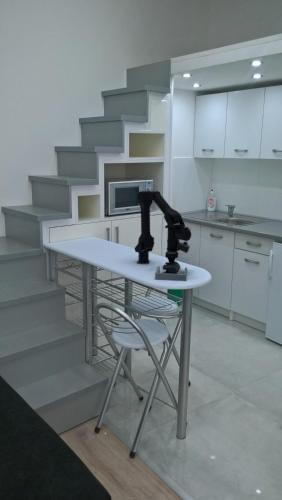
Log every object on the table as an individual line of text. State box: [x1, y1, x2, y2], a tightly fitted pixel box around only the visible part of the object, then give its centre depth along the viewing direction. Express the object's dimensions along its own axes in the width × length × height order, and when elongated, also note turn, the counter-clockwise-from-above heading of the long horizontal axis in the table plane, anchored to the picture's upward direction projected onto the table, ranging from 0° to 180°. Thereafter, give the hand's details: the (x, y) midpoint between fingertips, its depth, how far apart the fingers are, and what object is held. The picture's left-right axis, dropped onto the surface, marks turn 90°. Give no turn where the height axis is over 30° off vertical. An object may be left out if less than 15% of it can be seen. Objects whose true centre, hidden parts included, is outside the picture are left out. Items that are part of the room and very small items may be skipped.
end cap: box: [162, 261, 181, 274], centre depth 212 cm, size 10×7×7 cm
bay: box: [154, 266, 188, 282], centre depth 213 cm, size 14×15×3 cm
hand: (172, 267), depth 221 cm, fingers closed
